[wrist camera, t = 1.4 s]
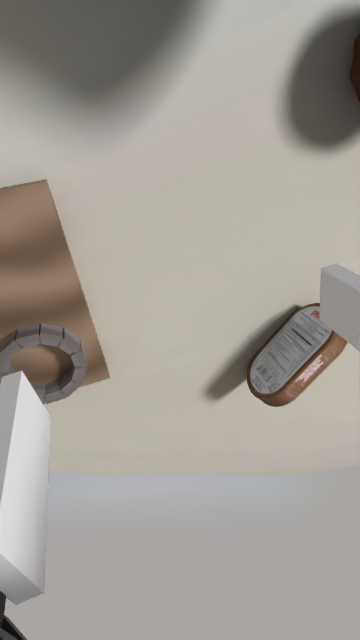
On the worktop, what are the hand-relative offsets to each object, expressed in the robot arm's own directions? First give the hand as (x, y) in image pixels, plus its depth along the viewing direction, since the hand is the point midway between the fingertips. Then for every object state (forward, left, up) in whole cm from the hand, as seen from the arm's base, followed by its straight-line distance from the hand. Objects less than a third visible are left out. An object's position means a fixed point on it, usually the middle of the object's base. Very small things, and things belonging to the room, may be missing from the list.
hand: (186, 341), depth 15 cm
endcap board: (+6, -11, -23) cm, 26 cm away
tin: (+20, +18, -23) cm, 36 cm away
